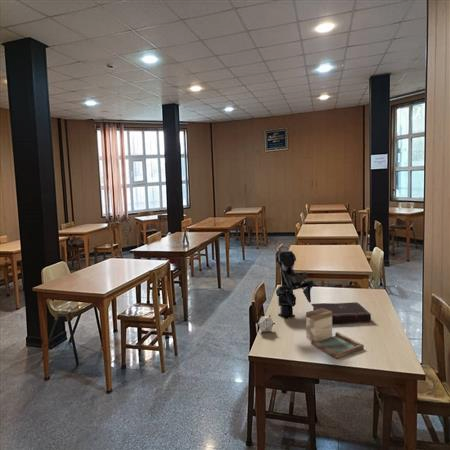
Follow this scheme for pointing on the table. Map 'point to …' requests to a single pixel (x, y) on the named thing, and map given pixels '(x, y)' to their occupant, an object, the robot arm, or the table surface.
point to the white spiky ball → (265, 323)
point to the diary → (345, 312)
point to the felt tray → (338, 345)
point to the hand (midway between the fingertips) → (301, 304)
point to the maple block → (319, 324)
